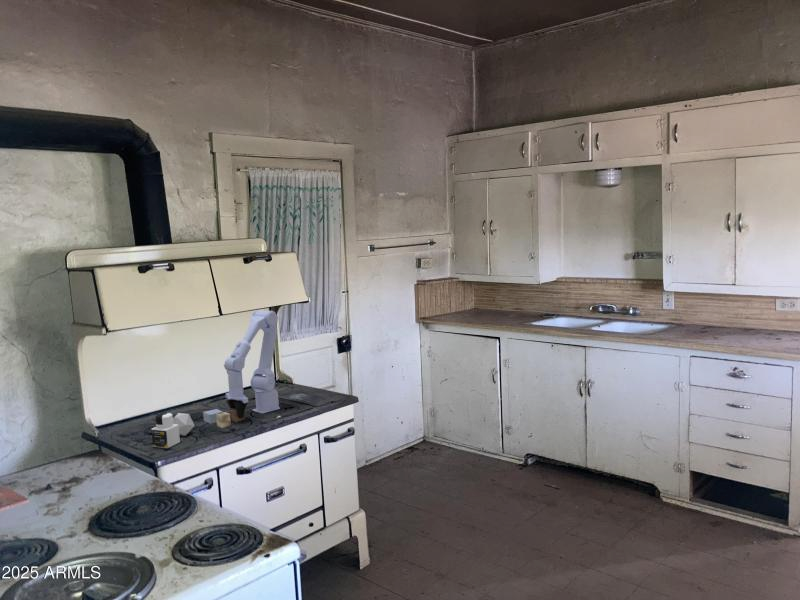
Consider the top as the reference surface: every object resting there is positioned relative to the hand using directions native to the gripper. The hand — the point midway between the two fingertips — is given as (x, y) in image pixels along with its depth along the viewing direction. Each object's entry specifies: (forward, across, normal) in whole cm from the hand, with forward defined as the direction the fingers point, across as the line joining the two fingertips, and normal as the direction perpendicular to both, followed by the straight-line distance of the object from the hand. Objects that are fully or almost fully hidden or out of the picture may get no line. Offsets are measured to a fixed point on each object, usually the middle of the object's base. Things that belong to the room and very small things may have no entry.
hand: (238, 416), depth 274 cm
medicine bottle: (+2, +5, -34) cm, 34 cm away
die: (+2, -2, -24) cm, 24 cm away
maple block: (+2, +2, -8) cm, 8 cm away
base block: (+2, -8, -7) cm, 11 cm away
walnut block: (+1, 0, 0) cm, 1 cm away
